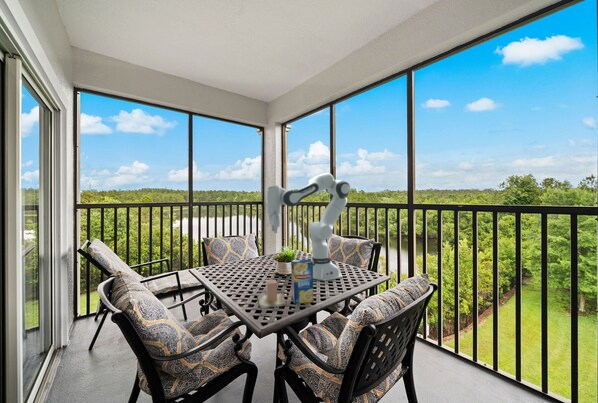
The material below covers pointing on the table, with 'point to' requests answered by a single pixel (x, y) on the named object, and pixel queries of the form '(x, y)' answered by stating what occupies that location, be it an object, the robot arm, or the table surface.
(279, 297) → the placemat
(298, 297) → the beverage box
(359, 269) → the table surface
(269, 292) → the terracotta block
